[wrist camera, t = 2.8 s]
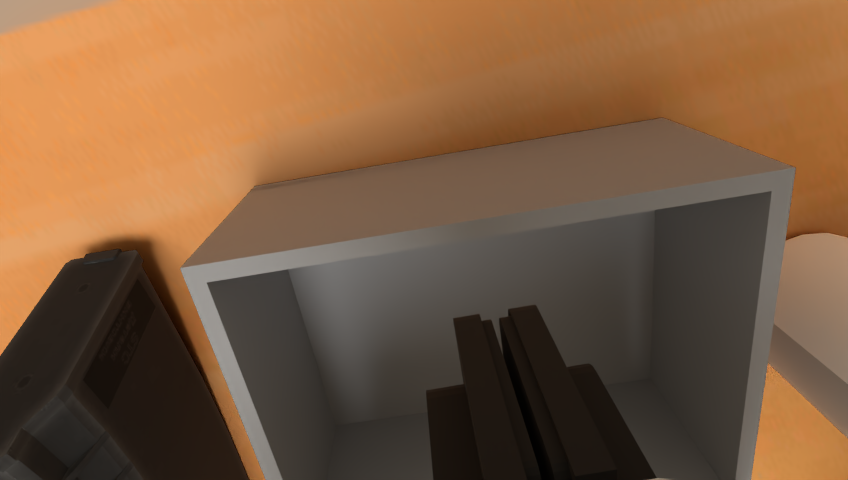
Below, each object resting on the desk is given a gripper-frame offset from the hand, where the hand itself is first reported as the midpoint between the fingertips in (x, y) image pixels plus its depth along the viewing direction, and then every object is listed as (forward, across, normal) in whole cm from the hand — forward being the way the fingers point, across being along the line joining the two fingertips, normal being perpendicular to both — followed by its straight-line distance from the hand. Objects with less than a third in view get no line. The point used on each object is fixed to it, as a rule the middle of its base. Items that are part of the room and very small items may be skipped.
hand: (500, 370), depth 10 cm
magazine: (+14, +15, +16) cm, 26 cm away
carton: (+13, -1, +6) cm, 14 cm away
